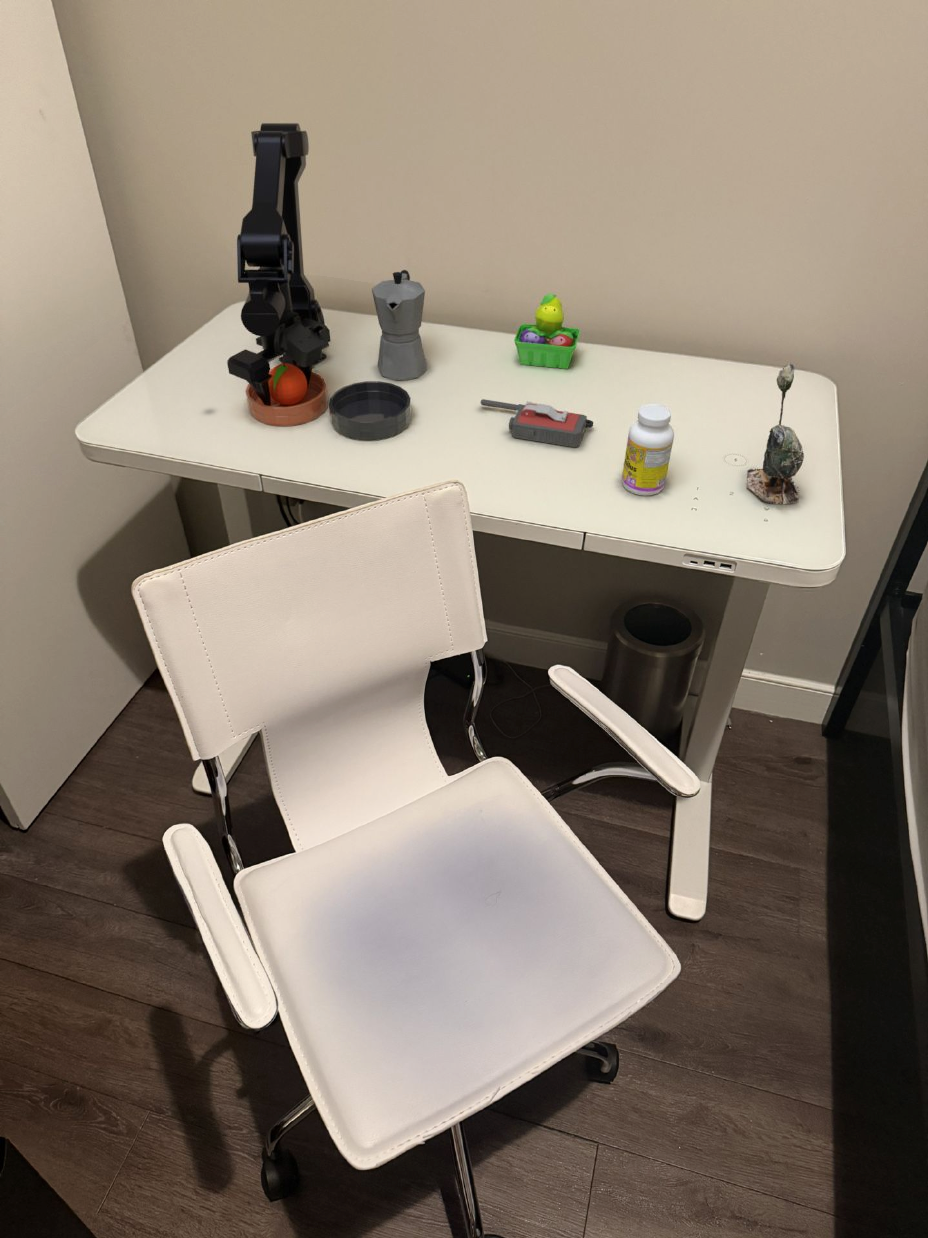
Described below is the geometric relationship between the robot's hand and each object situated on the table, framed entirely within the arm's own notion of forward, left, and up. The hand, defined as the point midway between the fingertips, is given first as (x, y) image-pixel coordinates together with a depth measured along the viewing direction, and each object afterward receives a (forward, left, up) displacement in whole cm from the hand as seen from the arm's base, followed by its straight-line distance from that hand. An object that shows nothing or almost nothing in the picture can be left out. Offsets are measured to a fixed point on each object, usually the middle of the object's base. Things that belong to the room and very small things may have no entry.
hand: (287, 395), depth 153 cm
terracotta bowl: (0, 0, -2) cm, 2 cm away
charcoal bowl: (-5, +14, -2) cm, 15 cm away
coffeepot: (-23, +7, -2) cm, 24 cm away
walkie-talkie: (-19, +38, -2) cm, 43 cm away
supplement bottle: (-15, +61, -2) cm, 63 cm away
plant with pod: (-25, +78, -2) cm, 82 cm away
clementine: (0, 0, -2) cm, 2 cm away
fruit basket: (-41, +27, -2) cm, 49 cm away
